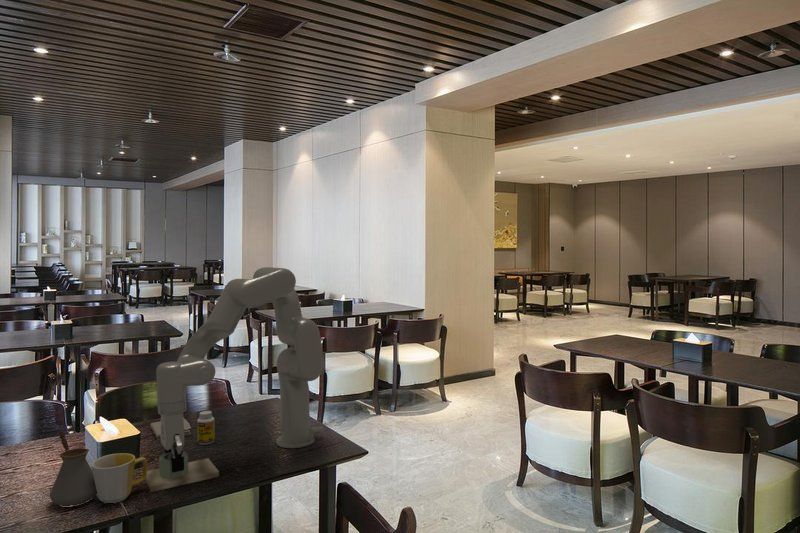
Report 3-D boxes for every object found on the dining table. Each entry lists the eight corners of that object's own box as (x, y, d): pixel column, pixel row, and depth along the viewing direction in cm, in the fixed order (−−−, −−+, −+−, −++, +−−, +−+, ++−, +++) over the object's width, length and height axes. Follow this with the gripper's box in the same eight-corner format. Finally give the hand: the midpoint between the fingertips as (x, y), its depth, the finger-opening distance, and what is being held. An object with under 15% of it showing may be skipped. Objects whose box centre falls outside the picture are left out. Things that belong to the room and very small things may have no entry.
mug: (97, 512, 142) (96, 471, 141) (88, 498, 150) (87, 459, 149) (154, 496, 151) (153, 457, 150) (143, 483, 158) (142, 446, 158)
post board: (208, 463, 173) (207, 438, 172) (218, 476, 163) (218, 450, 162) (144, 476, 163) (143, 451, 163) (151, 492, 153) (150, 464, 153)
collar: (184, 466, 167) (183, 449, 166) (190, 474, 161) (189, 457, 160) (158, 471, 163) (157, 454, 163) (162, 480, 157) (162, 462, 157)
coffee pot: (106, 501, 148) (103, 444, 147) (55, 516, 140) (52, 456, 140) (85, 476, 164) (83, 425, 163) (38, 488, 156) (36, 435, 156)
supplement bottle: (195, 445, 188) (195, 415, 187) (199, 440, 193) (198, 410, 193) (213, 444, 189) (212, 414, 188) (216, 439, 194) (215, 409, 194)
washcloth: (157, 443, 192) (157, 434, 192) (148, 428, 208) (148, 420, 207) (193, 436, 199) (193, 427, 199) (182, 422, 214) (182, 414, 214)
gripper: (152, 401, 166) (155, 458, 167) (163, 416, 152) (166, 479, 153) (179, 397, 170) (181, 453, 171) (192, 411, 156) (195, 472, 157)
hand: (174, 465), depth 162 cm, fingers open, 9 cm apart
